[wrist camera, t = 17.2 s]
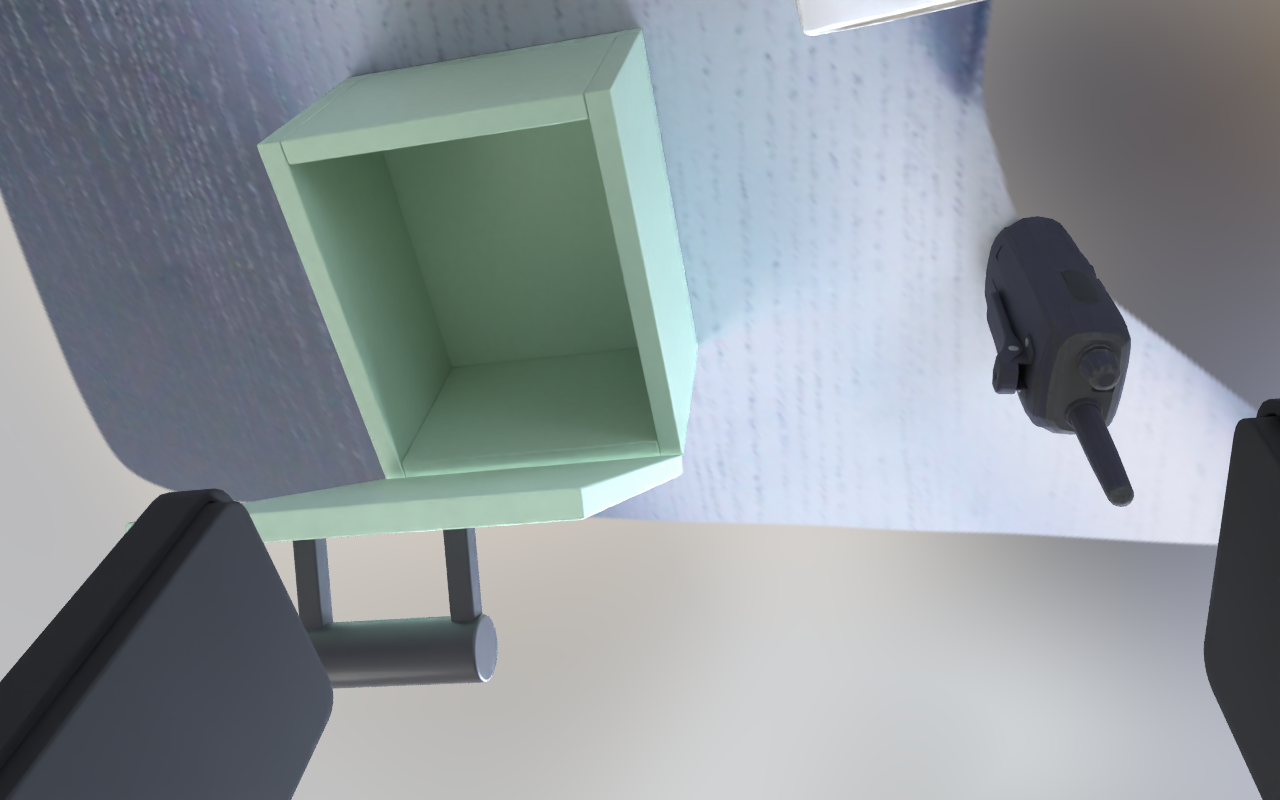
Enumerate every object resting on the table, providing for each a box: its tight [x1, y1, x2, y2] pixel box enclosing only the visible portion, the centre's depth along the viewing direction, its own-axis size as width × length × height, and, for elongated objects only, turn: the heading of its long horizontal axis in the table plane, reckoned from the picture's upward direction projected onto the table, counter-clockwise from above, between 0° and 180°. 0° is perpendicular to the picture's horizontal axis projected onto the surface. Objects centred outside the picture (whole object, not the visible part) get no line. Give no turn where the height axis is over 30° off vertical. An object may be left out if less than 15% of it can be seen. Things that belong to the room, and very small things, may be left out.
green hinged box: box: [257, 28, 698, 479], centre depth 42 cm, size 15×13×9 cm
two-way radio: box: [985, 216, 1134, 507], centre depth 38 cm, size 6×4×15 cm
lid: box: [126, 455, 683, 688], centre depth 34 cm, size 16×13×5 cm
